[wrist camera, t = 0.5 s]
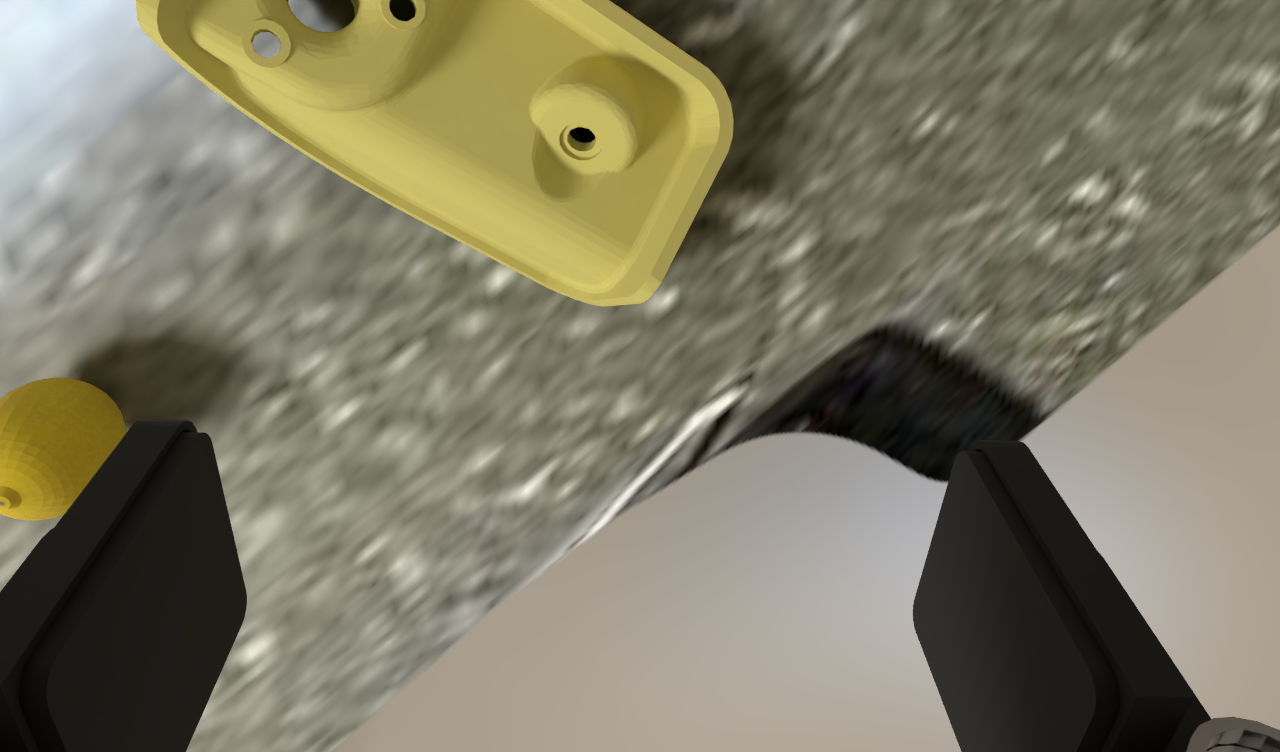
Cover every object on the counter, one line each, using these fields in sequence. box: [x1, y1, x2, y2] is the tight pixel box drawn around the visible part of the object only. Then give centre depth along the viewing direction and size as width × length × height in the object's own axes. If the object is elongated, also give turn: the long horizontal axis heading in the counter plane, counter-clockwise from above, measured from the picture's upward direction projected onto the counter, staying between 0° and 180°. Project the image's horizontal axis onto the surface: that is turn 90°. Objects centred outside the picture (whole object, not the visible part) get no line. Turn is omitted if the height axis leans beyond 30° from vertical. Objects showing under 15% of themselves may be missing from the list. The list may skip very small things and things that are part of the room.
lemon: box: [0, 378, 126, 520], centre depth 41 cm, size 6×6×8 cm
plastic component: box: [136, 0, 734, 306], centre depth 36 cm, size 20×7×10 cm
